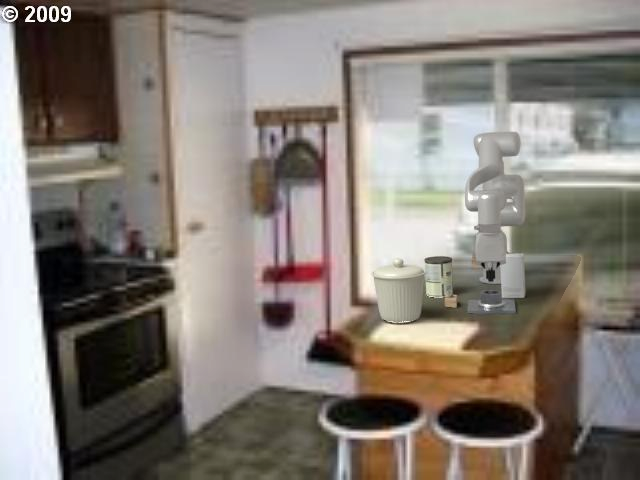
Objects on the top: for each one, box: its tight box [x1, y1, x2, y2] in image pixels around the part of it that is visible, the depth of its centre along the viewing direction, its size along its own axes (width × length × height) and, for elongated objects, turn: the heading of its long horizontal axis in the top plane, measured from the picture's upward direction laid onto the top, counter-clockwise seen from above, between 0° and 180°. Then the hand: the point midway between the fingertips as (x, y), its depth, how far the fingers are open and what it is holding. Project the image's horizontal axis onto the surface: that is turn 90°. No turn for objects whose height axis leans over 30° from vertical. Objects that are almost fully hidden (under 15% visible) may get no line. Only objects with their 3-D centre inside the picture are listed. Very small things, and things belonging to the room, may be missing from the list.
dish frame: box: [471, 252, 517, 270], centre depth 353 cm, size 20×19×3 cm
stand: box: [444, 292, 458, 308], centre depth 282 cm, size 6×4×4 cm, turn 168°
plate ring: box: [479, 289, 503, 305], centre depth 275 cm, size 7×7×4 cm
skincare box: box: [500, 253, 526, 299], centre depth 289 cm, size 8×7×16 cm
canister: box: [371, 257, 426, 322], centre depth 265 cm, size 18×18×21 cm
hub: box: [467, 298, 517, 315], centre depth 275 cm, size 16×16×4 cm
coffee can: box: [424, 255, 454, 299], centre depth 298 cm, size 10×10×14 cm
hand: (490, 281), depth 274 cm, fingers closed
